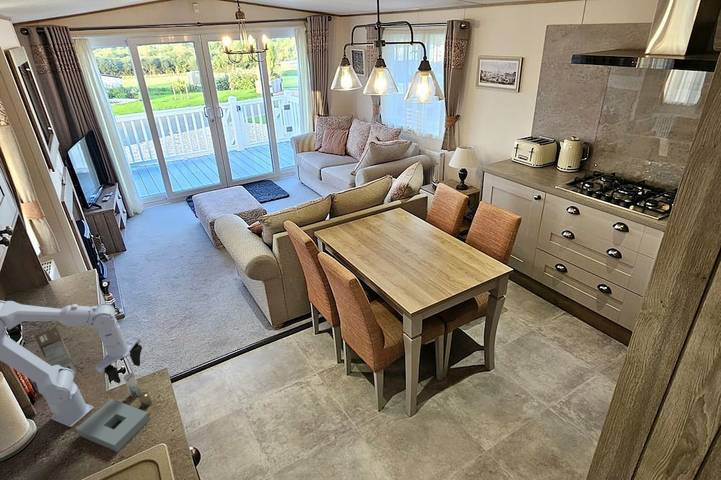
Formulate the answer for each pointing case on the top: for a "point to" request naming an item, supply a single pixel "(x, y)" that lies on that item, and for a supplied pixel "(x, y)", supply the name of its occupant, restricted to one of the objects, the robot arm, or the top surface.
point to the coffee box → (54, 349)
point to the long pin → (132, 385)
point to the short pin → (145, 399)
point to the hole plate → (107, 417)
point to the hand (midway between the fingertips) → (127, 373)
